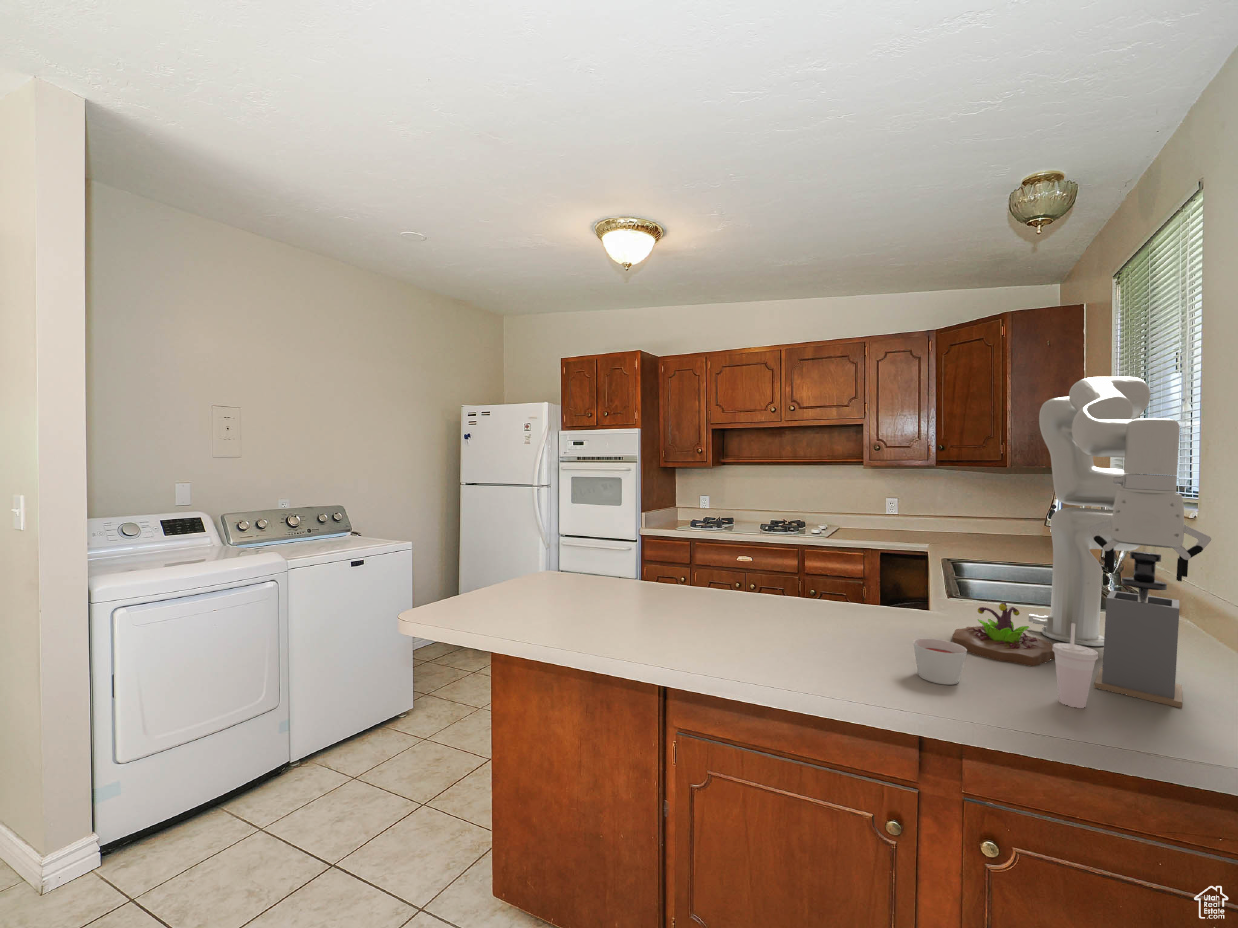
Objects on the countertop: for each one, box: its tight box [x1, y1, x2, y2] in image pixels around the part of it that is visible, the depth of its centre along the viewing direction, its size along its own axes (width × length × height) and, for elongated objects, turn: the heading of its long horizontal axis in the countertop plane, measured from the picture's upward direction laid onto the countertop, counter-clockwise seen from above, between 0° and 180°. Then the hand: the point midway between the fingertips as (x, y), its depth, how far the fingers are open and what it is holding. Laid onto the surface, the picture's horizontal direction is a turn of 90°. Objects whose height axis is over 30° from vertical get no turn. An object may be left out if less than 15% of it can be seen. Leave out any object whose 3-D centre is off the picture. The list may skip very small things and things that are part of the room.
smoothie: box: [1052, 623, 1099, 709], centre depth 105 cm, size 6×6×14 cm
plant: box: [951, 601, 1055, 667], centre depth 135 cm, size 20×20×11 cm
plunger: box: [1121, 550, 1168, 603], centre depth 113 cm, size 7×7×24 cm
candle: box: [913, 637, 968, 686], centre depth 115 cm, size 9×9×6 cm
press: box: [1093, 590, 1183, 709], centre depth 113 cm, size 12×12×17 cm
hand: (1144, 575), depth 113 cm, fingers open, 9 cm apart
